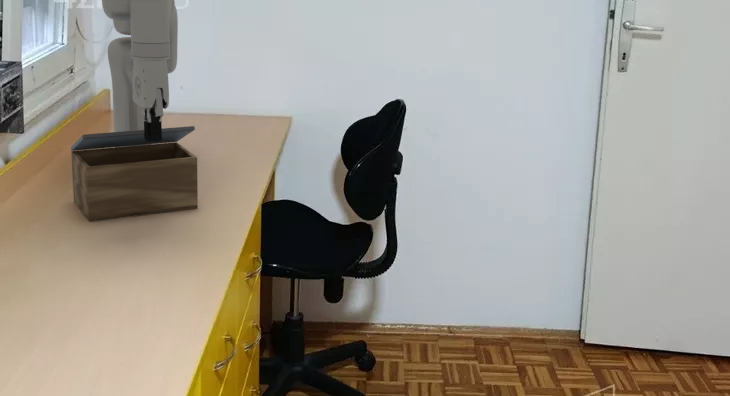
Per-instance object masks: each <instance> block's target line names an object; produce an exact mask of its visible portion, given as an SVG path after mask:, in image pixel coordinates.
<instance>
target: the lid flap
mask: <svg viewBox="0 0 730 396" xmlns="http://www.w3.org/2000/svg"><path fill="white" fill-rule="evenodd" d="M195 130H196V128H195V125H191V126H179V127H165V128H163V127H162V140H161V141H151V142H148V141H146V140H145V139H144V130H137V131H123V132H114V131H113V132H101V133H99V132H98V133H88V134H86V133H84V134H82V135H81V136H80V137H79V138H78V139H77V140H76V141H75V142H74V144H72V145H71V146H70V150H71V151H80V150H92V149H103V148H115V147H122V146H134V145H146V144H163V143H174V142H177V143H178V142H179V141H180V140H182V139H183V138H185V137H186V136H188V135H189V134H191V133H192V132H193V131H195ZM71 151H70V152H71Z"/></svg>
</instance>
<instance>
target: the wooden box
mask: <svg viewBox="0 0 730 396" xmlns="http://www.w3.org/2000/svg"><path fill="white" fill-rule="evenodd" d="M70 152H71V168H72V170H71V171H72V173H71V174H72V185H73V186H72V191H73V203H74V205H76V207H77V208H78V210H79V211H80V212H81V213H82V214H83V215H84V217H85V218H86V220H87V221H88V222H89V223H90V222H98V221H99V222H100V221H107V220H114V219H115V220H116V219H122V218H133V217H138V216H145V215H147V216H148V215H153V214H154V215H155V214H164V213H169V212H170V213H171V212H179V211H188V210H195V209H198V205H199V203H198V202H199V200H198V197H199V195H198V189H199V188H198V157H197V156H196V155H194V154H193V153H192V152H191V151H190V150H188V149H186V148H185V147H184V146H183V145H181V144H180V143H178V141H177V142H169V143H158V144H151V145H139V146H127V147H110V148H98V149H86V150H75V151H70Z"/></svg>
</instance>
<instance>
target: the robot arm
mask: <svg viewBox="0 0 730 396" xmlns="http://www.w3.org/2000/svg"><path fill="white" fill-rule="evenodd" d="M101 5H102V9H103V12H104V14H105V15H106V17H107V18H108V19H110V20H112V21H113V27H114V28H115V31H116V32H118V34H120V35H125V36H121V37H117V38H114V39H112V40H111V41H110V42H109V43H108V46H107V59H108V64H109V70H110V77H111V87H112V108H113V109H112V110H113V113H112V114H113V132H123V131H137V130H144V139H145V140H146V141H148V142H151V141H161V140H162V129H163V126H162V119H163V117H164V109H165V110H166V109H167V108H168V107H169V105H170V88H169V86H170V85H169V74H172V73H173V72H174V71H175V70H176V68H177V65H178V39H179V38H178V37H179V36H178V35H179V33H178V30H179V28H178V27H179V23H178V22H179V21H178V18H179V17H178V10H177V6H176V4H175V0H101ZM146 145H151V144H146ZM134 146H139V145H134ZM122 147H127V146H122Z"/></svg>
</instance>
